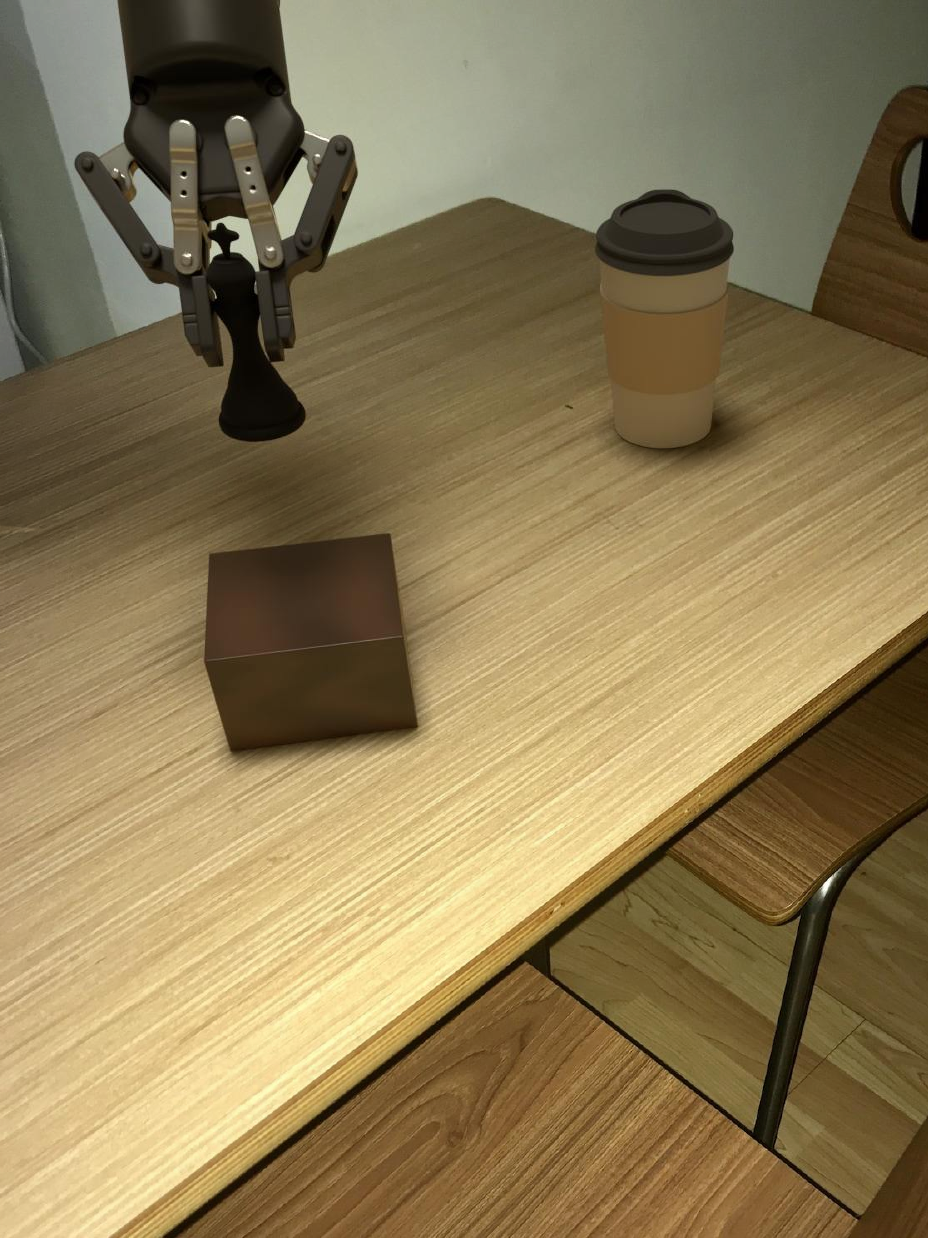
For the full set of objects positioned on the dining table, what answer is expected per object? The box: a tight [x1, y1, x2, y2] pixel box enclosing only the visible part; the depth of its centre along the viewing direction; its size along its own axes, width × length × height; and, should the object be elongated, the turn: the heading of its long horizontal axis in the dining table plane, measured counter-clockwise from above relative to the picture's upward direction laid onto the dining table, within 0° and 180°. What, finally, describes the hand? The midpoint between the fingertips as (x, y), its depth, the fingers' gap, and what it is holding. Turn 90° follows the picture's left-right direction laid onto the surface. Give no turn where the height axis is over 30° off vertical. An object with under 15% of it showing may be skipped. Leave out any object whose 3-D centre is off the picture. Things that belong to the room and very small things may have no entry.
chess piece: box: [207, 222, 307, 443], centre depth 65 cm, size 4×4×10 cm
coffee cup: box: [594, 188, 735, 449], centre depth 90 cm, size 9×9×15 cm
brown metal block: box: [203, 532, 419, 752], centre depth 73 cm, size 10×10×6 cm
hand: (244, 357), depth 64 cm, fingers closed on chess piece, 2 cm apart
